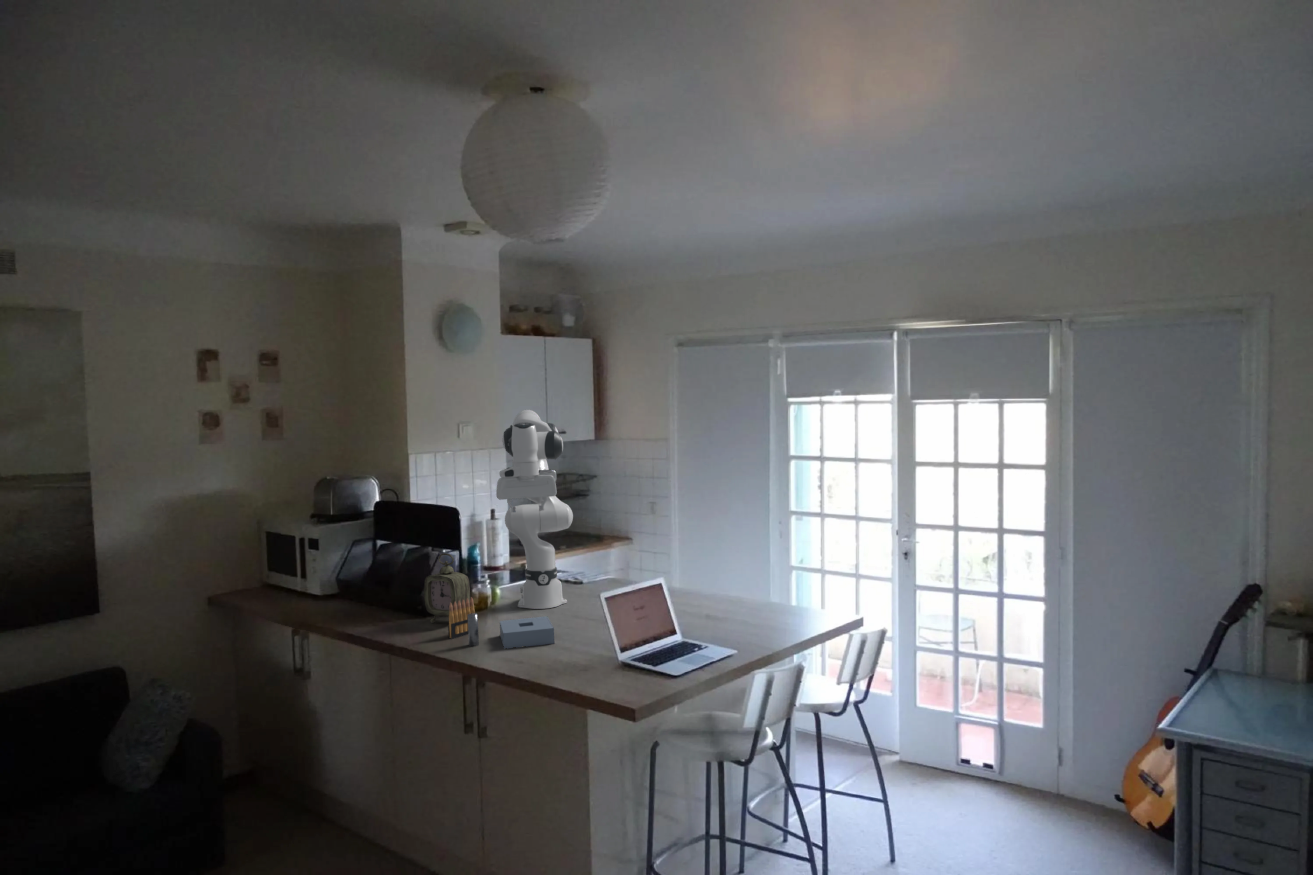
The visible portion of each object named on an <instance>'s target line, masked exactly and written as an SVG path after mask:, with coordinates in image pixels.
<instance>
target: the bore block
mask: <svg viewBox="0 0 1313 875" xmlns="http://www.w3.org/2000/svg"><path fill="white" fill-rule="evenodd" d="M499 636H500V640H501V642H502V646H504V647H503V649H504V650H505V648H507V649H514V648H513V647H516V648H523V647H522V646H526V647H532V646H542V645H543V646H544V645H552V644H553V645H554V644H555V627H554V625H553V623H552V622H551V620H550V619H549V617H548V616H546V615H545V616H537V617H535V616H534V617H527V618H526V617H525V618H516V619H506V620H505V619H504V620H499Z"/></svg>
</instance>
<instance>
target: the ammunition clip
mask: <svg viewBox="0 0 1313 875" xmlns="http://www.w3.org/2000/svg"><path fill="white" fill-rule="evenodd" d="M474 603H475V602H474V599H473V597H472V596H470V604H469V600H468V598H467V600H466V608H465V601H464V599H463V601H462V610H461V603H460V601H458V612H457V605H456V602H454V607H453V606H452V603H450V606H449V616H448V624H447V625H448V630H447V631H448V632H447V633H448V634H447V635H448V636H447V637H448V639H451V640H455V639H457V638H460V637H464V636H468V614H471V613H476V611H475V605H474ZM453 609H454V610H453Z"/></svg>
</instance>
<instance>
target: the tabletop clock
mask: <svg viewBox="0 0 1313 875" xmlns="http://www.w3.org/2000/svg"><path fill="white" fill-rule="evenodd" d="M442 556H449V557H450V558H451V560H452V561H451V562H448V560H445V561H444V562H442V561H441V557H442ZM437 560H438V561H439V563H440V564H442V565H443V566H442V567H440V570H439V572H438V573H434V574H431V575H428V576H426V577H425V579H424V583H423V598H424V605H425V609H426V612H427V613H429V614H430V615H433V616H434V617H431V618H430V622H431V623H432V624H433V623H435V622H436V618H437V616H439V617H449V606H450V603H452V606H453V607H454V602H456V605H457V612H458V601H460V603H461V610H462V601H463V599H464V601H465V608H466V600H467V598H468V600H469V605H470V600H471V587H470V580H469V577H468V575H466V574H464V573H461V572H457V571H454V570H455V569H454V568H453V567H452V566H451V565H452V564H454V561H455V560H454V556H453V555H451V554H450V553H448V552H447V553H441V554H440V555H439V556H438V559H437ZM453 610H454V609H453Z"/></svg>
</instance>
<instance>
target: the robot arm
mask: <svg viewBox="0 0 1313 875" xmlns="http://www.w3.org/2000/svg"><path fill="white" fill-rule="evenodd" d="M561 435H562V434H560V433H559V431H558V428H557V427H556V425H555V424H554V423H551V422H545V421H543V420H542V419H541V417H540V416H539V415H538V413H537V412H535V411H534V410H532V409H524V410H521V411H519V412H518V413H517V415H515V417H514V419H513V422H512V424H511V425H510V426H509V427H508V428H506V429H505V430H504V431H503V435H502V440H501V441H502V446H503V448H504V449H505V451H506V453H508V455H510V456H511V457H512V462H511V466H509V467H506V468H503V469H502V470H500V471H499V473H498V474H499V478H498V480H497V483H496V489H495V490H496V491H495V492H496V494H495V495H496V499H498V500H500V501H501V500H506V501H507V503H508V506H509V508H508V510H507V511H506V513H505V516H504V524H505V526H506V528H507V530H508V531H509V532H510V533H511V534H513V535H515V536H516V537H517V538H518V539H519V541H520V542H521V544H522V546H523V549H524V552H525V562H526V563H525V564H526V569H525V573H524V574H525V579H526V580H525V582H524V583H523V584H522V586H520V592H519V593H520V594H521V597H520V598H519V601H518V603H517V607H518V608H523V609H524V608H525V609H533V610H544V609H550V608H555V607H559V606H561V605H563V604H567V603H568V600H567V599H566V598H564V597H563V586H562V582H561V580H559V578H558V568H557V567H556V549H555V547H554V545H553V544H552V543H550V542H548V541H546V540H543V539H541V538H539V536H538V535H539V534H541V533H549V532H550V533H553V532H559V531H563V530H567V529H569V528H570V527H571V525H572V523H573V521H574V520H573V519H574V513H573V510H572V508H571V507H570V505H568V504H567V503H565V502H563V501H562V500H560V499H559V498H558V496H556V495H557V494H558V493H557V492H558V491H557V490H558V489H557V485H556V484H557V483H556V482H557V479H558V478H557V477H558V476H557V472H556V471H555V470H552V469H549V464H548V460H557V459H558V458H559V457H560V456H561V455H562V454H563V450H564V441H563V438H562V436H561ZM517 499H519V500H520V499H527V500H529V501H532V503H528V504H520V505H519V504H518V505H515V506H513V504H512V502H513V500H517Z"/></svg>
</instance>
